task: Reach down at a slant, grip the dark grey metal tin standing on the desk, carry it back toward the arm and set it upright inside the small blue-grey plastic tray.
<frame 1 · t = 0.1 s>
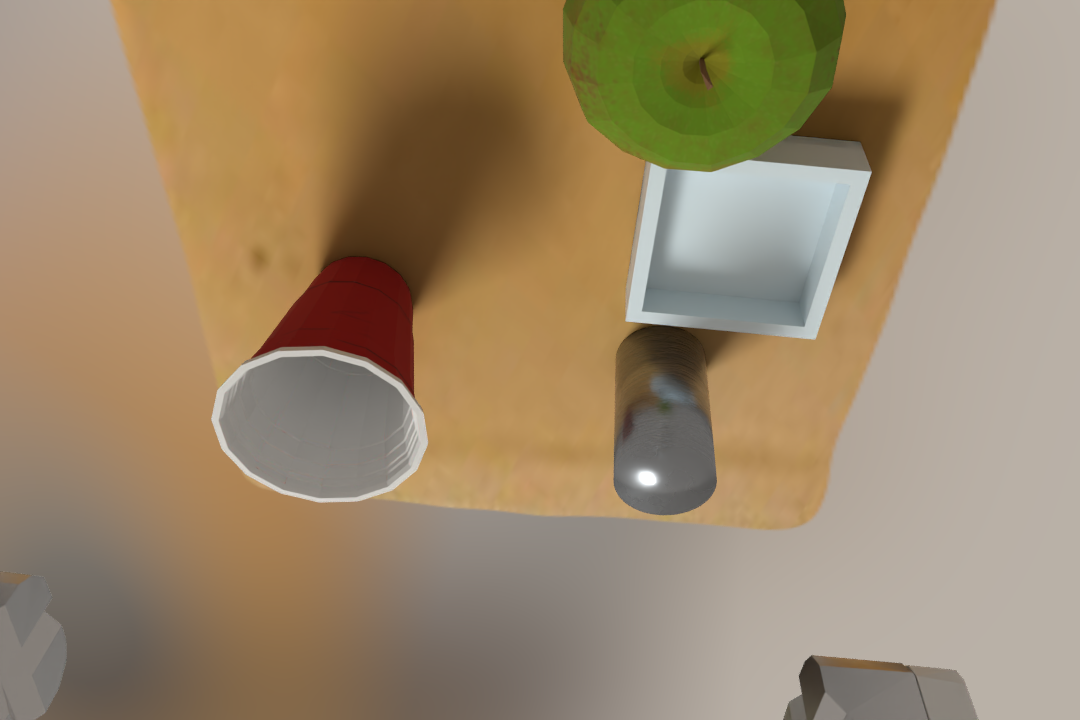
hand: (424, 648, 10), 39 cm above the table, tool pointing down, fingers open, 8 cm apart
plastic cup: (369, 292, 57), on the table
tin: (660, 360, 58), on the table
tray: (734, 220, 51), on the table
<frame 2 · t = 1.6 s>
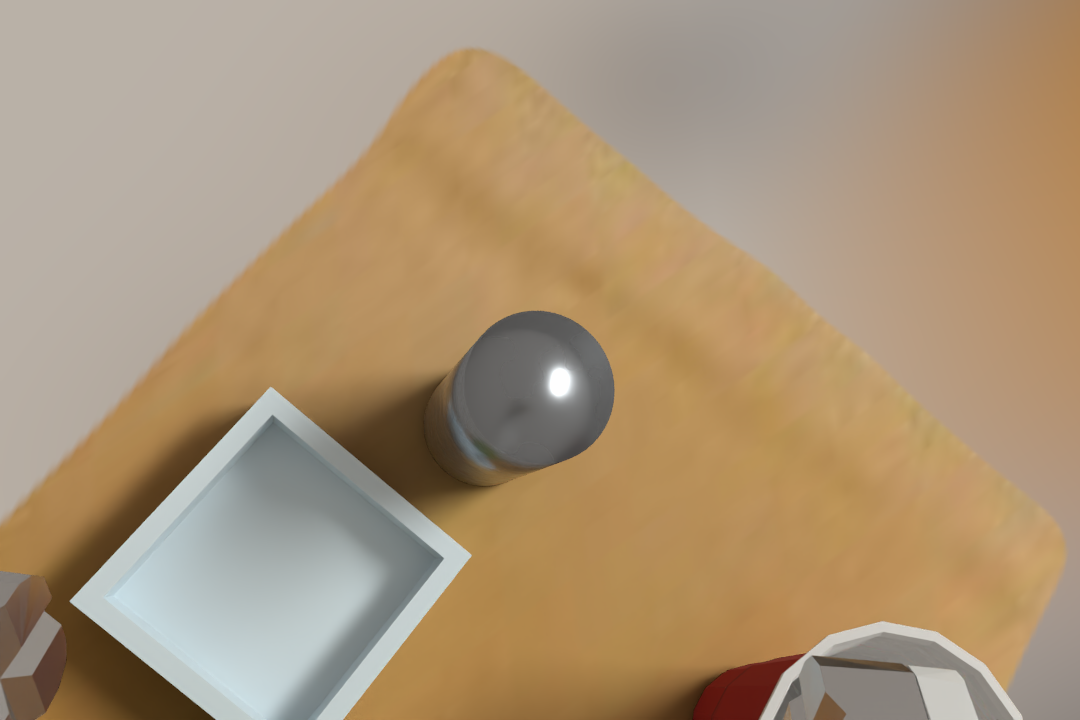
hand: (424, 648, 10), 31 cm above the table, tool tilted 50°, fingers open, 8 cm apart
tin: (484, 425, 43), on the table
tray: (282, 576, 39), on the table
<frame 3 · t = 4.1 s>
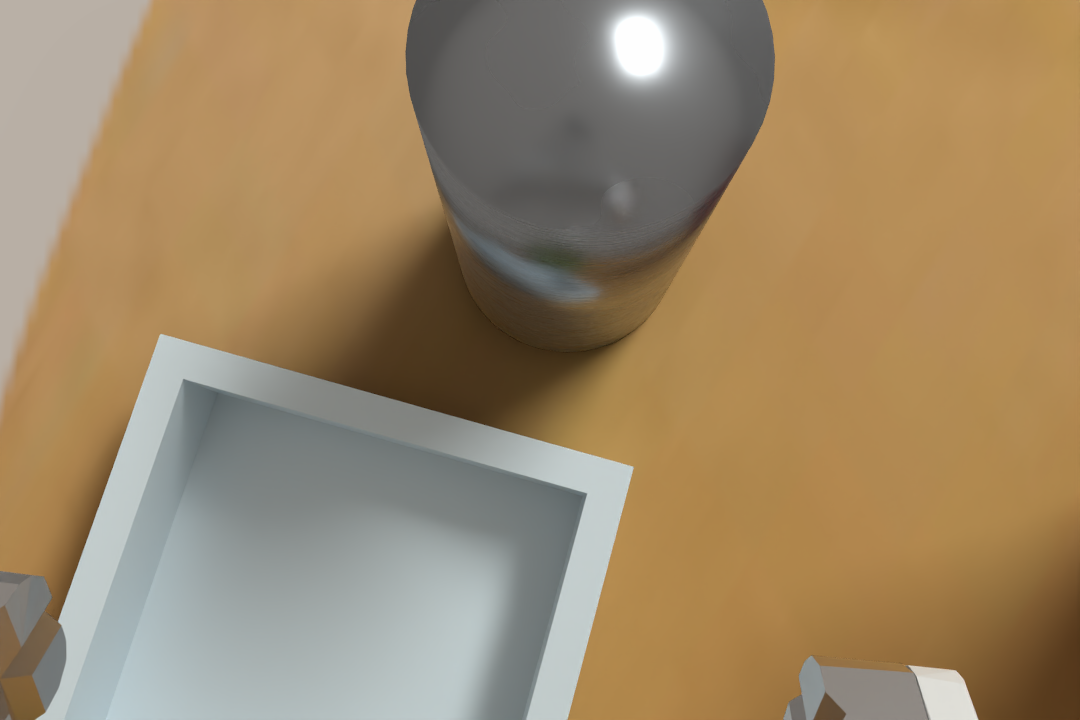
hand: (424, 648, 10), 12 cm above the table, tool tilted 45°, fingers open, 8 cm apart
tin: (567, 245, 24), on the table
tray: (347, 630, 22), on the table
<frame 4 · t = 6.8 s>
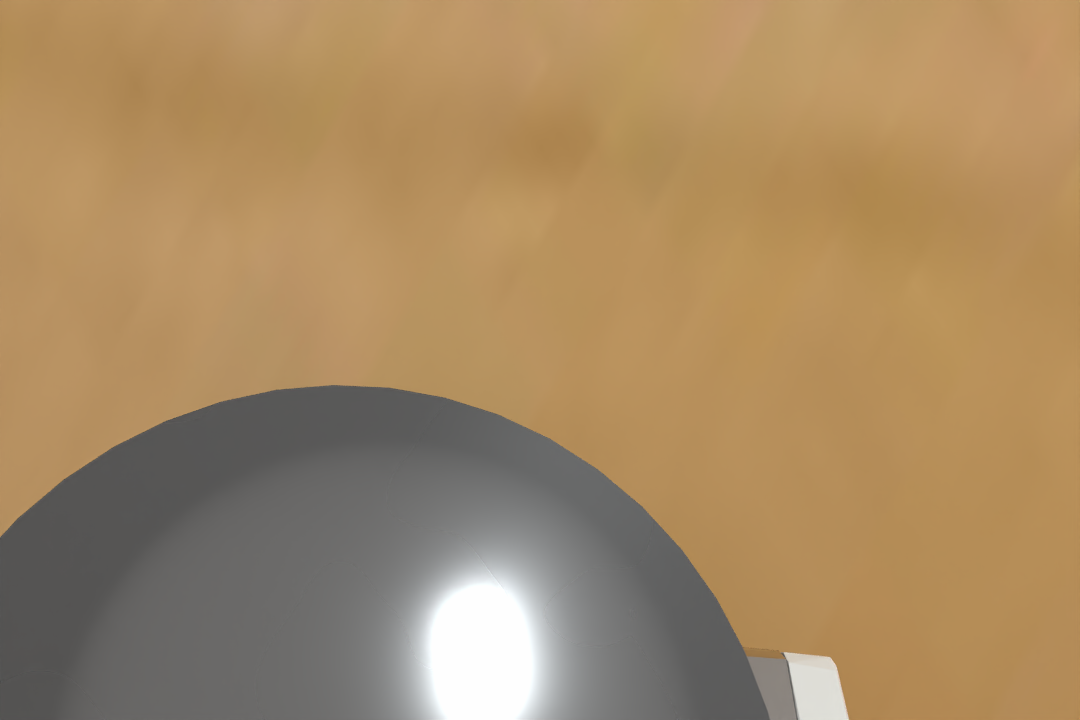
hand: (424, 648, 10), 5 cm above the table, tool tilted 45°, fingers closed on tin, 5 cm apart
tin: (457, 643, 15), on the table, touching gripper
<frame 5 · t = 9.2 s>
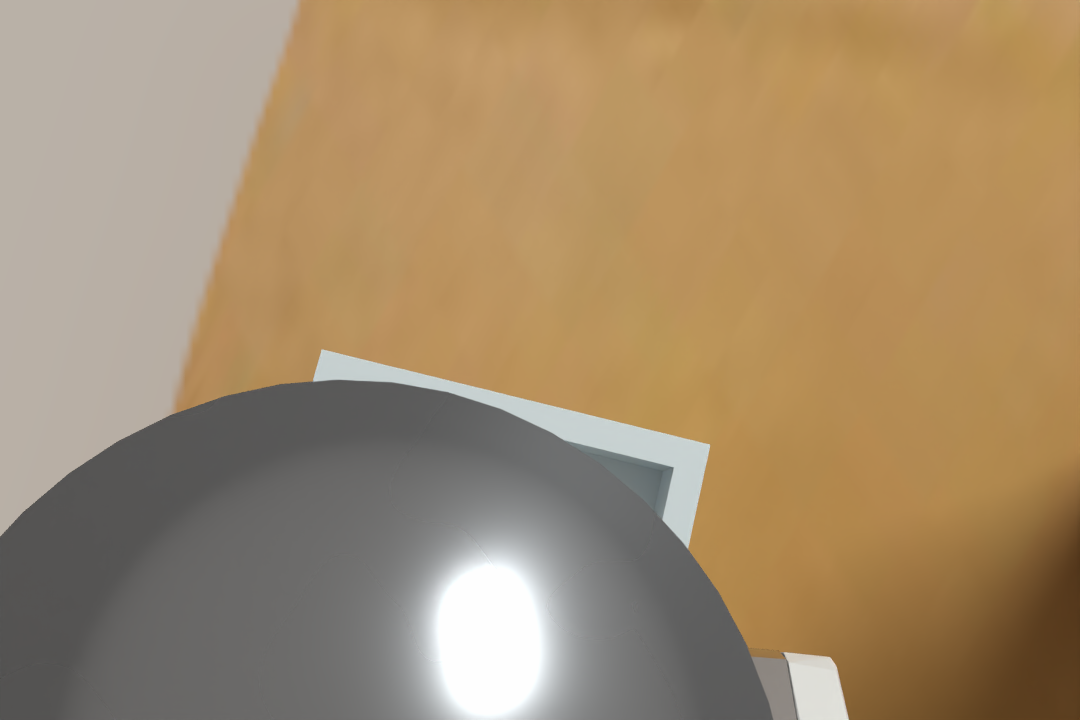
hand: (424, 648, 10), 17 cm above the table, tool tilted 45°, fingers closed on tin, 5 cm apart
tin: (458, 640, 15), point 12 cm above the table, touching gripper
tray: (471, 587, 27), on the table
when the fingers open (8 cm above the table, at t = 11.9 s): tin drops 1 cm, resting on tray.
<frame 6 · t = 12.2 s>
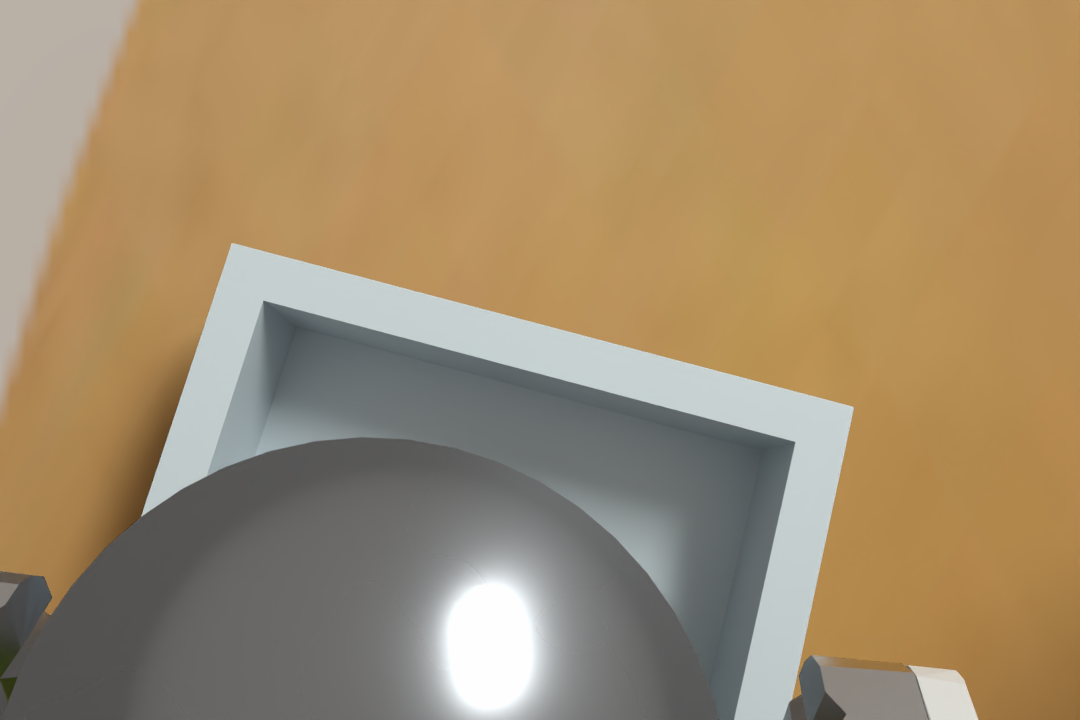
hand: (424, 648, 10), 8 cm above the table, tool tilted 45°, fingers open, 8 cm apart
tin: (463, 629, 17), point 1 cm above the table, touching tray
tray: (464, 624, 18), on the table
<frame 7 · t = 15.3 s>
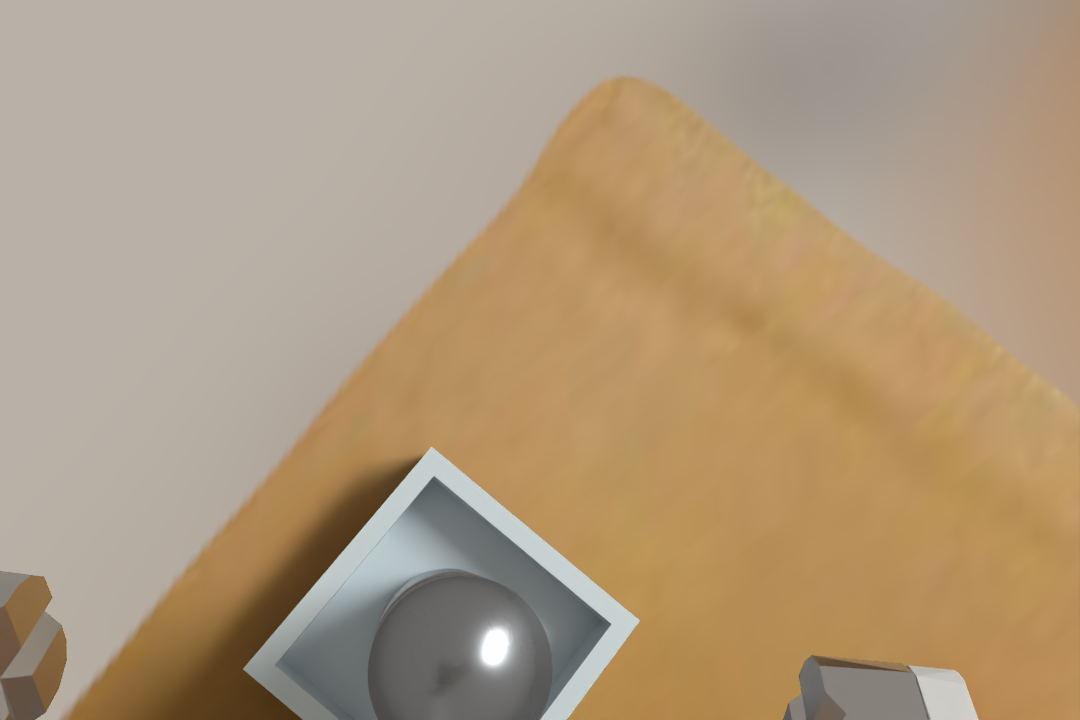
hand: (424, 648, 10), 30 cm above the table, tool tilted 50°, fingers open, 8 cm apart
tin: (446, 638, 38), point 1 cm above the table, touching tray
tray: (444, 636, 39), on the table
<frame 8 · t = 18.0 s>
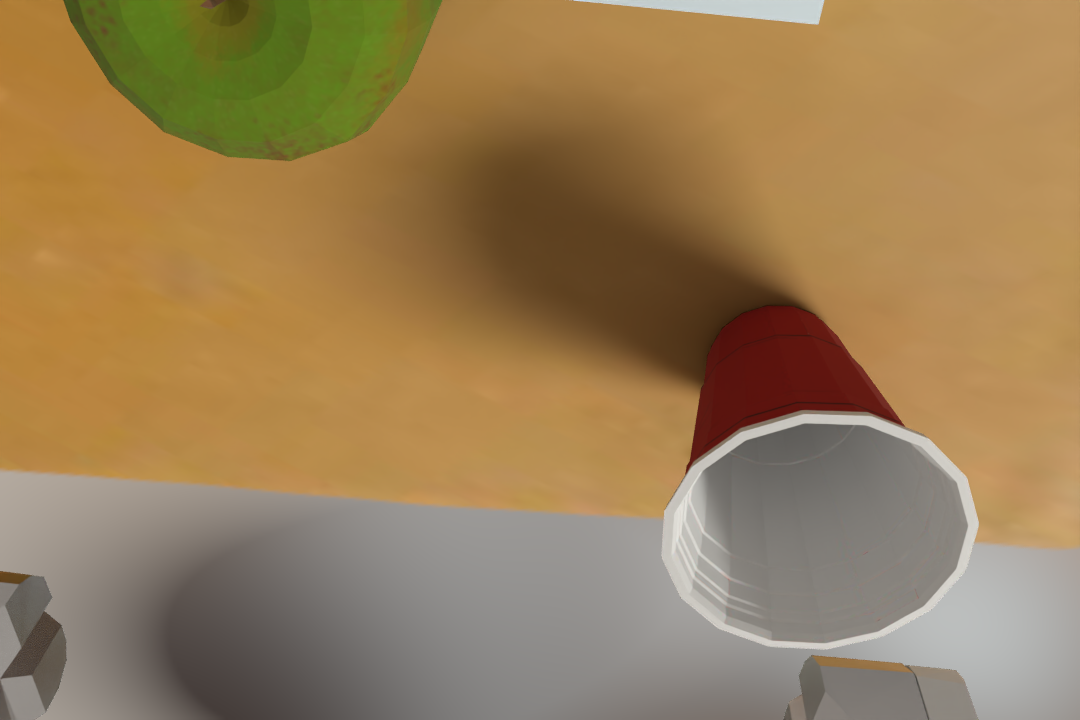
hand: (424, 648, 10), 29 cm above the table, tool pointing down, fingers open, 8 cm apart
plastic cup: (770, 350, 43), on the table
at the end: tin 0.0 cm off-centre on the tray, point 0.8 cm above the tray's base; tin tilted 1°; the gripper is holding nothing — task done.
